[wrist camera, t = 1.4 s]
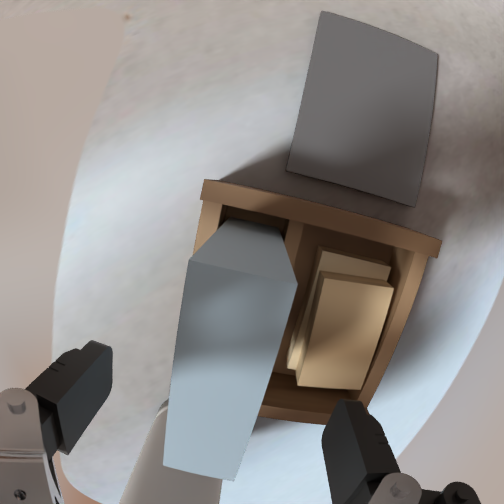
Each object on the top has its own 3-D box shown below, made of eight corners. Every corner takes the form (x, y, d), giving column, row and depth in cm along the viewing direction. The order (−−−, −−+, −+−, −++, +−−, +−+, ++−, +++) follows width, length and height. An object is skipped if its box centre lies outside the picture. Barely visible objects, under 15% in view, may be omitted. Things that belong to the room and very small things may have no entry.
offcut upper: (319, 270, 18) (324, 278, 17) (384, 280, 18) (393, 288, 16) (295, 371, 20) (297, 385, 18) (354, 376, 20) (360, 389, 18)
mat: (320, 14, 17) (321, 10, 16) (433, 56, 17) (437, 54, 16) (285, 170, 19) (286, 170, 19) (411, 206, 20) (415, 207, 19)
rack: (218, 180, 20) (204, 179, 15) (405, 227, 20) (442, 240, 15) (185, 356, 23) (169, 396, 18) (349, 386, 23) (364, 427, 18)
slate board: (230, 216, 19) (188, 259, 8) (278, 227, 19) (297, 284, 8) (204, 345, 21) (162, 465, 10) (246, 354, 21) (234, 481, 10)
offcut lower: (318, 245, 19) (322, 250, 18) (382, 260, 19) (391, 267, 18) (285, 356, 21) (287, 368, 20) (345, 365, 21) (350, 377, 20)
